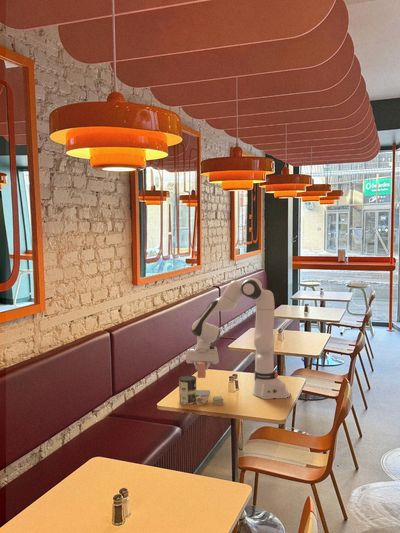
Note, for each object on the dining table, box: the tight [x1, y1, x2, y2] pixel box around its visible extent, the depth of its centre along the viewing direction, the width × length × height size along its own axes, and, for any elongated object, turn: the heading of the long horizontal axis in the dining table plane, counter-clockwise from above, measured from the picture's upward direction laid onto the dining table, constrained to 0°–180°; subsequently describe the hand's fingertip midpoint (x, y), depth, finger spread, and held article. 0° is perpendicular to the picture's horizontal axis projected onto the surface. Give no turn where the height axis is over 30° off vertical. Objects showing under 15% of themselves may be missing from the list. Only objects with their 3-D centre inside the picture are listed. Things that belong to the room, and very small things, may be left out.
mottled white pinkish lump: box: [196, 395, 209, 407], centre depth 286 cm, size 5×5×4 cm
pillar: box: [197, 361, 207, 379], centre depth 301 cm, size 4×4×9 cm
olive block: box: [212, 395, 224, 406], centre depth 286 cm, size 5×5×4 cm
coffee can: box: [178, 374, 197, 405], centre depth 290 cm, size 10×10×14 cm
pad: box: [196, 389, 211, 398], centre depth 302 cm, size 9×9×1 cm
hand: (201, 369), depth 300 cm, fingers closed on pillar, 4 cm apart
